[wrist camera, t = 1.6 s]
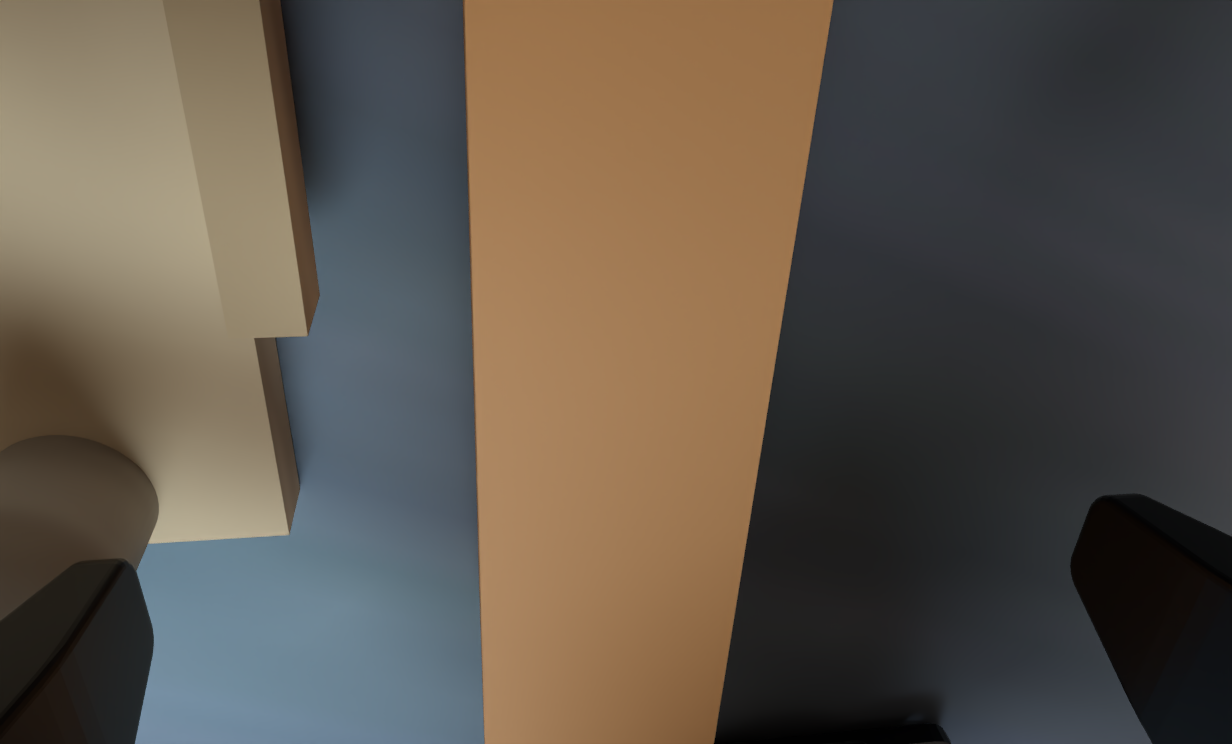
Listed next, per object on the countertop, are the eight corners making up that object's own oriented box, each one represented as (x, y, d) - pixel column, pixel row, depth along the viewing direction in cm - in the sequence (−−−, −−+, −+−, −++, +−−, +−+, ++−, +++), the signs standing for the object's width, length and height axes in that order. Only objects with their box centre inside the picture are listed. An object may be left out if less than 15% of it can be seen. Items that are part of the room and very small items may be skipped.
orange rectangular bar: (661, 579, 15) (711, 759, 12) (479, 590, 15) (486, 782, 12) (731, -90, 10) (842, -55, 7) (459, -104, 10) (462, -71, 7)
